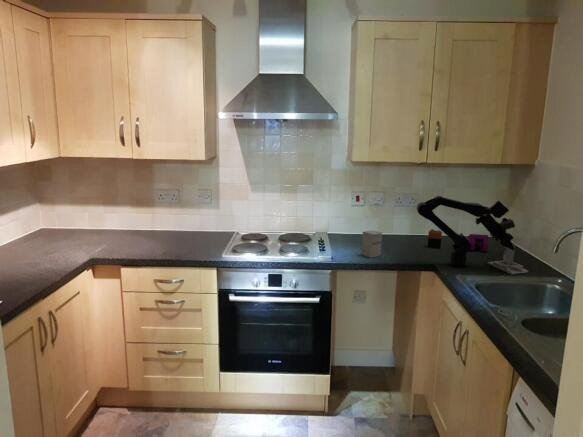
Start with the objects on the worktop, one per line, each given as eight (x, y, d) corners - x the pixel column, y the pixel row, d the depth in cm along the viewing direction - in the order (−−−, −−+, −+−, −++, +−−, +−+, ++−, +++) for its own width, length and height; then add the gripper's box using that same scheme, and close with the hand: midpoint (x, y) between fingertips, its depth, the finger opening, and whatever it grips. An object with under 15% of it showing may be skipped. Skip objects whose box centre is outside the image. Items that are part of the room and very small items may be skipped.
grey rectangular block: (505, 264, 223) (507, 244, 221) (502, 261, 227) (505, 242, 225) (513, 264, 222) (515, 244, 220) (510, 262, 226) (513, 242, 224)
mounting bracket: (463, 254, 268) (470, 249, 251) (463, 240, 270) (470, 234, 253) (480, 255, 267) (488, 250, 249) (480, 241, 269) (488, 234, 251)
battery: (428, 245, 264) (429, 228, 262) (440, 247, 261) (442, 229, 259) (427, 247, 260) (428, 230, 258) (440, 249, 257) (441, 231, 255)
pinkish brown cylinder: (370, 258, 238) (372, 234, 235) (361, 254, 244) (362, 231, 241) (381, 256, 242) (382, 232, 239) (371, 252, 248) (372, 229, 245)
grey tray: (511, 274, 216) (512, 269, 216) (487, 263, 232) (488, 259, 231) (528, 272, 219) (528, 268, 218) (503, 262, 234) (503, 258, 234)
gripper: (511, 217, 211) (533, 242, 212) (499, 210, 229) (520, 232, 230) (491, 233, 214) (513, 258, 215) (480, 224, 232) (501, 247, 233)
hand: (512, 248), depth 223 cm, fingers closed on grey rectangular block, 4 cm apart
